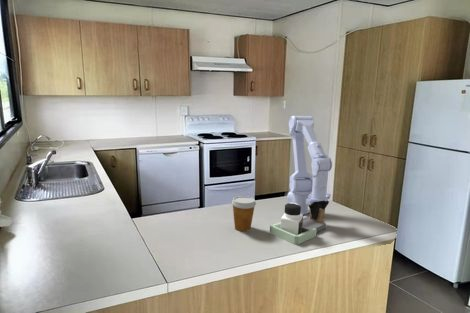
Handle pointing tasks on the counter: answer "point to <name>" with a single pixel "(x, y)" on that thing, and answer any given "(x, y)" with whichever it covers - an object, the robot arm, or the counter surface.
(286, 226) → the medicine bottle
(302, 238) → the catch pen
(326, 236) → the counter surface
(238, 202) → the disposable coffee cup
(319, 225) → the scraper
